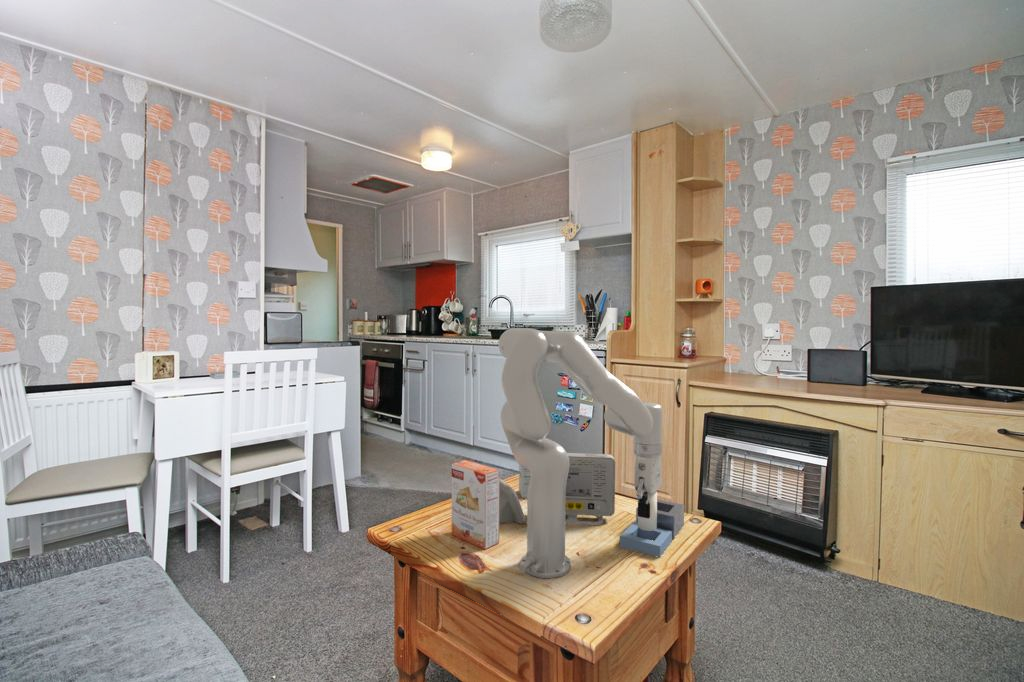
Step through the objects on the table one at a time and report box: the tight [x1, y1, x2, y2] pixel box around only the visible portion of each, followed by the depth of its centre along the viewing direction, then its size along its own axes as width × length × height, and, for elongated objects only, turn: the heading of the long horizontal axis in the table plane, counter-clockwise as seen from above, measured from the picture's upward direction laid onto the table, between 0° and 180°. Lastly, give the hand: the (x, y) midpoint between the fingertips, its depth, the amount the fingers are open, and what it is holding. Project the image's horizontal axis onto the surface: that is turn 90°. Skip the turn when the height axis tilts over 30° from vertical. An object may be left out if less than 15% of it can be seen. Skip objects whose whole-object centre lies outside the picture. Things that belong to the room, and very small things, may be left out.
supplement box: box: [518, 464, 531, 499], centre depth 175 cm, size 7×7×13 cm
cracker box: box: [451, 459, 500, 550], centre depth 138 cm, size 14×6×21 cm, turn 47°
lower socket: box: [619, 522, 673, 558], centre depth 136 cm, size 11×11×3 cm
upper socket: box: [635, 498, 685, 540], centre depth 147 cm, size 11×11×6 cm
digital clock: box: [499, 477, 526, 524], centre depth 155 cm, size 16×9×11 cm, turn 11°
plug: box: [638, 489, 658, 531], centre depth 136 cm, size 5×5×10 cm
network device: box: [565, 452, 616, 526], centre depth 154 cm, size 26×9×20 cm, turn 84°
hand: (647, 513), depth 136 cm, fingers closed on plug, 4 cm apart
